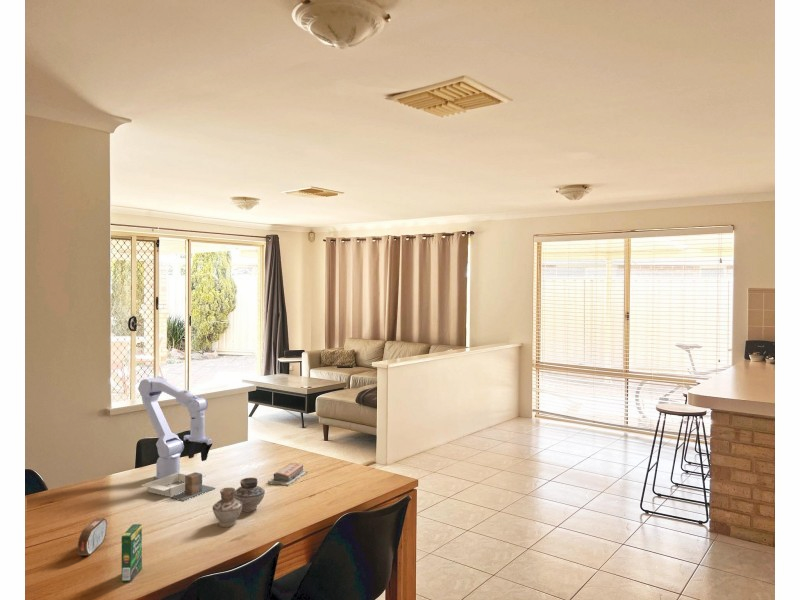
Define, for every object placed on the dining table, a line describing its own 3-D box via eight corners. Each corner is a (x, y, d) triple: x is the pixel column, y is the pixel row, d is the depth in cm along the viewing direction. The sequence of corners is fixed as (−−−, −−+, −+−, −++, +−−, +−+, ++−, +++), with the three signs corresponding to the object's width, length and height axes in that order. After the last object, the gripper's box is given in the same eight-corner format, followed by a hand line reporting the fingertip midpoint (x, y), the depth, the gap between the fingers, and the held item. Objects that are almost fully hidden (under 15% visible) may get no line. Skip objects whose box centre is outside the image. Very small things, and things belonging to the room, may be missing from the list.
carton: (141, 493, 226) (141, 484, 226) (184, 478, 245) (184, 470, 245) (163, 499, 220) (163, 490, 220) (205, 483, 239) (206, 475, 239)
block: (185, 493, 226) (185, 475, 226) (195, 489, 230) (195, 472, 230) (192, 495, 224) (192, 477, 224) (202, 491, 228) (202, 473, 228)
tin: (98, 539, 185) (98, 513, 185) (108, 538, 185) (108, 513, 185) (76, 560, 170) (76, 532, 170) (87, 560, 170) (87, 532, 170)
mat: (170, 498, 222) (170, 497, 222) (203, 485, 236) (203, 484, 236) (183, 501, 218) (183, 500, 218) (215, 488, 233) (215, 487, 233)
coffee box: (131, 582, 157) (131, 535, 157) (120, 583, 157) (120, 535, 157) (142, 568, 165) (142, 523, 165) (132, 568, 165) (132, 523, 165)
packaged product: (287, 461, 257) (307, 463, 254) (287, 471, 257) (307, 473, 254) (267, 473, 239) (289, 475, 237) (267, 484, 239) (289, 487, 237)
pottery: (205, 528, 194) (205, 493, 194) (243, 502, 218) (243, 470, 218) (235, 531, 191) (235, 496, 191) (270, 505, 216) (270, 473, 216)
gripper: (177, 426, 241) (177, 458, 241) (202, 431, 234) (202, 464, 235) (191, 423, 247) (191, 454, 248) (215, 427, 241) (215, 459, 241)
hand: (197, 459), depth 242 cm, fingers open, 7 cm apart
